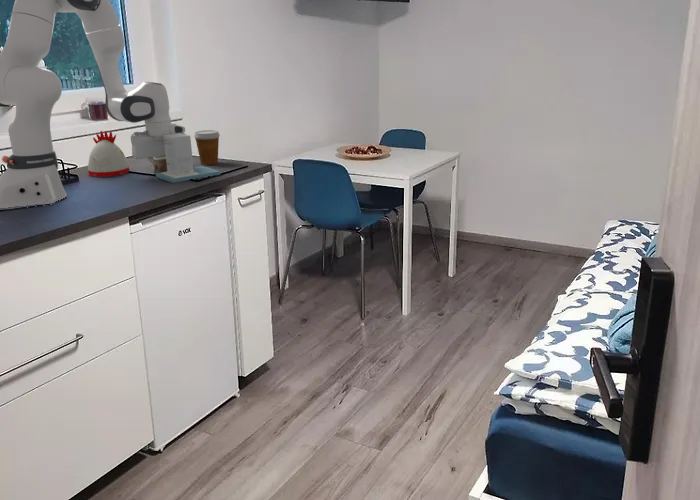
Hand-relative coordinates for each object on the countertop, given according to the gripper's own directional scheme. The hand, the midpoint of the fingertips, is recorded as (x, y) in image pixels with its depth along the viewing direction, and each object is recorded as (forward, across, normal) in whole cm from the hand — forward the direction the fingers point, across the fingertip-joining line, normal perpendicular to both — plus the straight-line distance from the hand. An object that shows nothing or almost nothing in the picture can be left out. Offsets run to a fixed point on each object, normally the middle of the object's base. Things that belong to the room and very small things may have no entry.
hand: (163, 168), depth 227 cm
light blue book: (+2, +4, -11) cm, 12 cm away
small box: (0, +1, -11) cm, 11 cm away
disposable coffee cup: (+2, +20, +3) cm, 20 cm away
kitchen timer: (+2, -14, +15) cm, 21 cm away
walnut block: (+2, 0, 0) cm, 2 cm away
